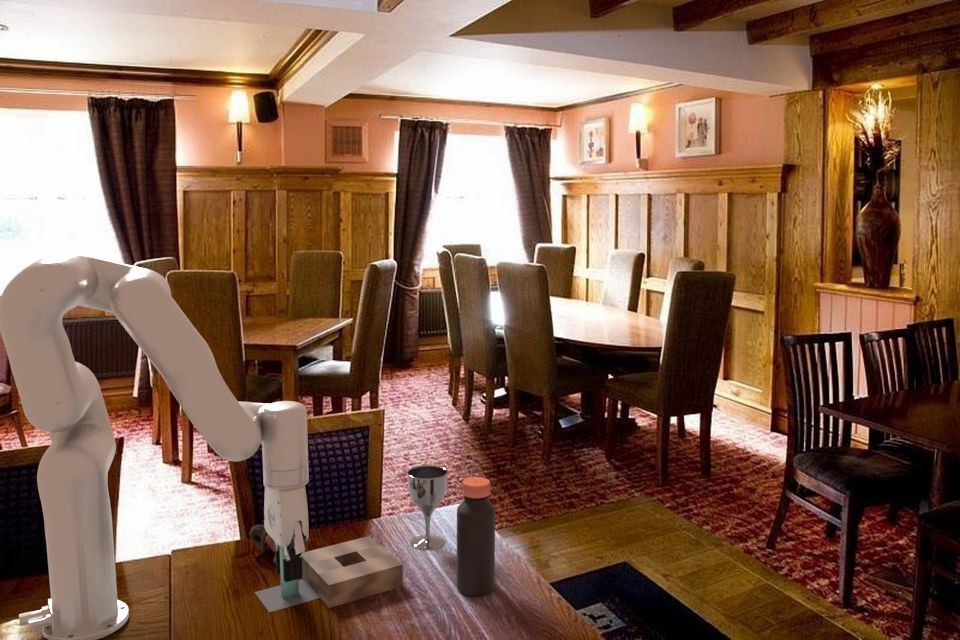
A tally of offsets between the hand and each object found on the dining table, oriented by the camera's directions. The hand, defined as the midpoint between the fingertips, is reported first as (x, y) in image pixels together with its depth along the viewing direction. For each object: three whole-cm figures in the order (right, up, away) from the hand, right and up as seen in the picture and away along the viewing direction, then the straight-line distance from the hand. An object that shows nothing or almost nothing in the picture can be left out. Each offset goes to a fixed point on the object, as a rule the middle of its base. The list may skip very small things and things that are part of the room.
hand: (289, 574), depth 136 cm
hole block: (+10, -3, +6) cm, 12 cm away
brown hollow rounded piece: (-6, -2, +17) cm, 18 cm away
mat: (0, -4, +1) cm, 4 cm away
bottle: (+32, -4, +4) cm, 33 cm away
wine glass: (+23, -1, +22) cm, 32 cm away
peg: (0, -4, +1) cm, 4 cm away
